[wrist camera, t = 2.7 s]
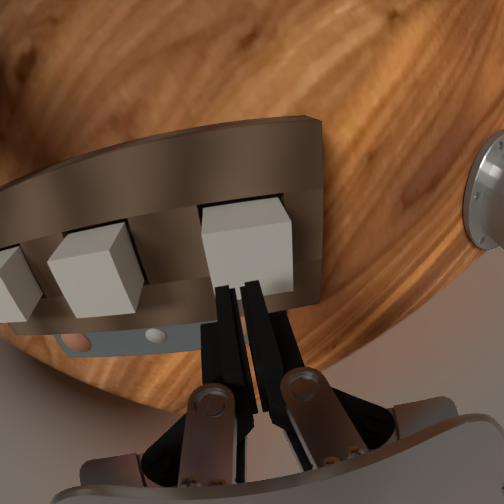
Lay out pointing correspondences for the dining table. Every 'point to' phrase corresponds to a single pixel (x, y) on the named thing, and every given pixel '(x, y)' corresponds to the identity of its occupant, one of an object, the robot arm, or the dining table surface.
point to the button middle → (98, 272)
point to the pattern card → (136, 341)
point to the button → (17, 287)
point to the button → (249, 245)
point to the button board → (169, 215)
